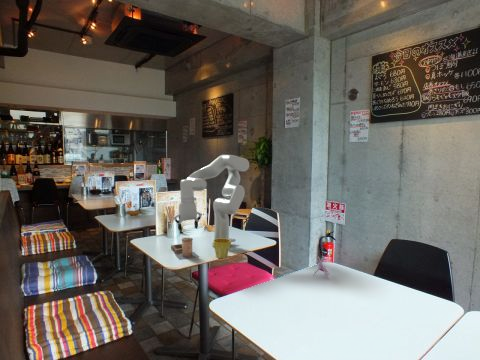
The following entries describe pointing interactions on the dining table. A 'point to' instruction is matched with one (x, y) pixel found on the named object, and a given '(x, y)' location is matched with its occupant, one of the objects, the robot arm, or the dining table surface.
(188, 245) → the brown wooden block
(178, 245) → the holder
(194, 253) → the mat
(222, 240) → the plant pot
